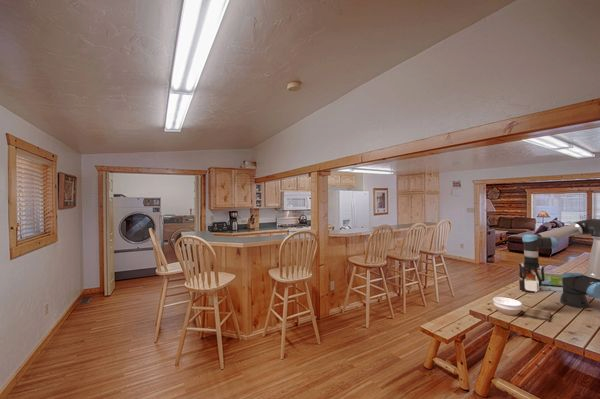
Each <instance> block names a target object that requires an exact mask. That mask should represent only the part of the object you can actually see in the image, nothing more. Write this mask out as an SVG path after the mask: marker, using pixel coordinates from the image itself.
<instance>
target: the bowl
mask: <svg viewBox="0 0 600 399" xmlns="http://www.w3.org/2000/svg"><path fill="white" fill-rule="evenodd" d="M492 300H493V305H494V307H495V308H494V309H496V310H497V312H498V313H500V314H502V315H506V316H511V317H512V316H514V317H515V316H517V315H518V314H519V313H520V312H521V311H522V305H523V303H522V302H521V301H519V300H517V299H514V298H509V297H503V296H501V297H500V296H497V297H496V296H495V297H493V298H492Z"/></svg>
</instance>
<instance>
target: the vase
mask: <svg viewBox="0 0 600 399" xmlns="http://www.w3.org/2000/svg"><path fill="white" fill-rule="evenodd" d="M525 271H526V267H525V266H523V270H522V276H523V275H524V273H525ZM532 272H533V271H532V270H528V273H527V275H526V278H525V279H527V280H533V281H537V276H536V274H535V273H532ZM518 280H519V281H518V284H519V285H518V286H519V287H518V288H519V291H520V290H522V291H521V292H523V291H525V292H524V293H527V292H528V294H535V291H530V290H526V289H525V283H523V279H522V278H520V277H519V276H518Z"/></svg>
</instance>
